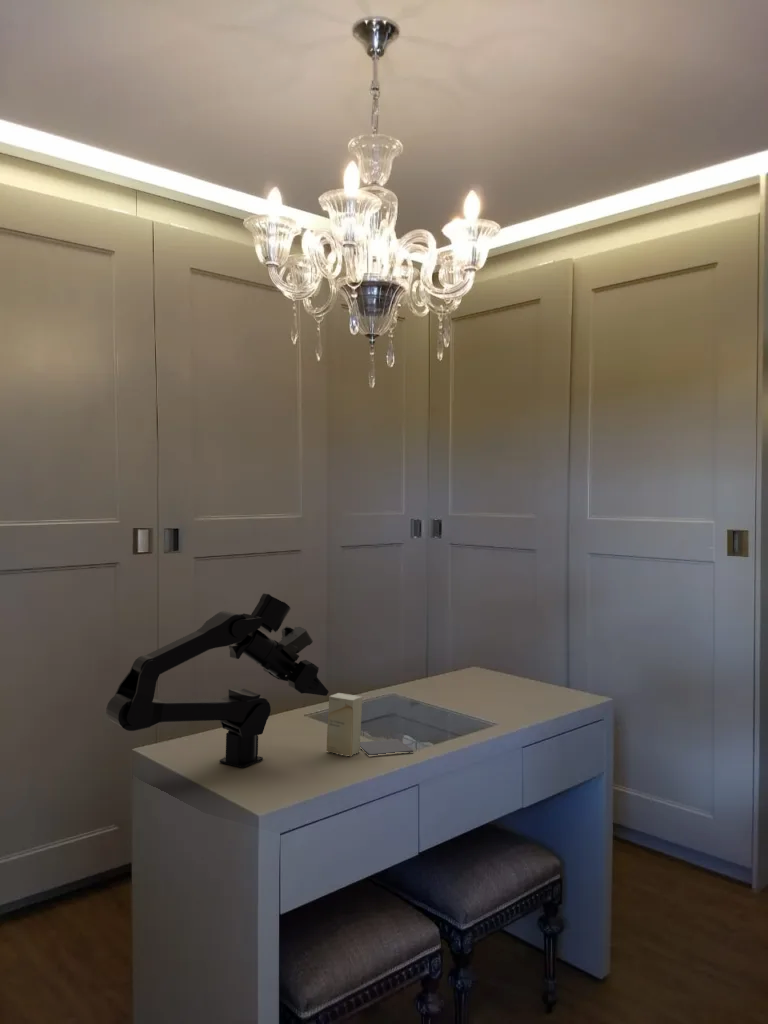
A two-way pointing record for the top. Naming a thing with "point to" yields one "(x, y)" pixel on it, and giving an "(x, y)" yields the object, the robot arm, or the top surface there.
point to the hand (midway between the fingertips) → (318, 688)
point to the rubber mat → (384, 746)
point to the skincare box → (344, 724)
